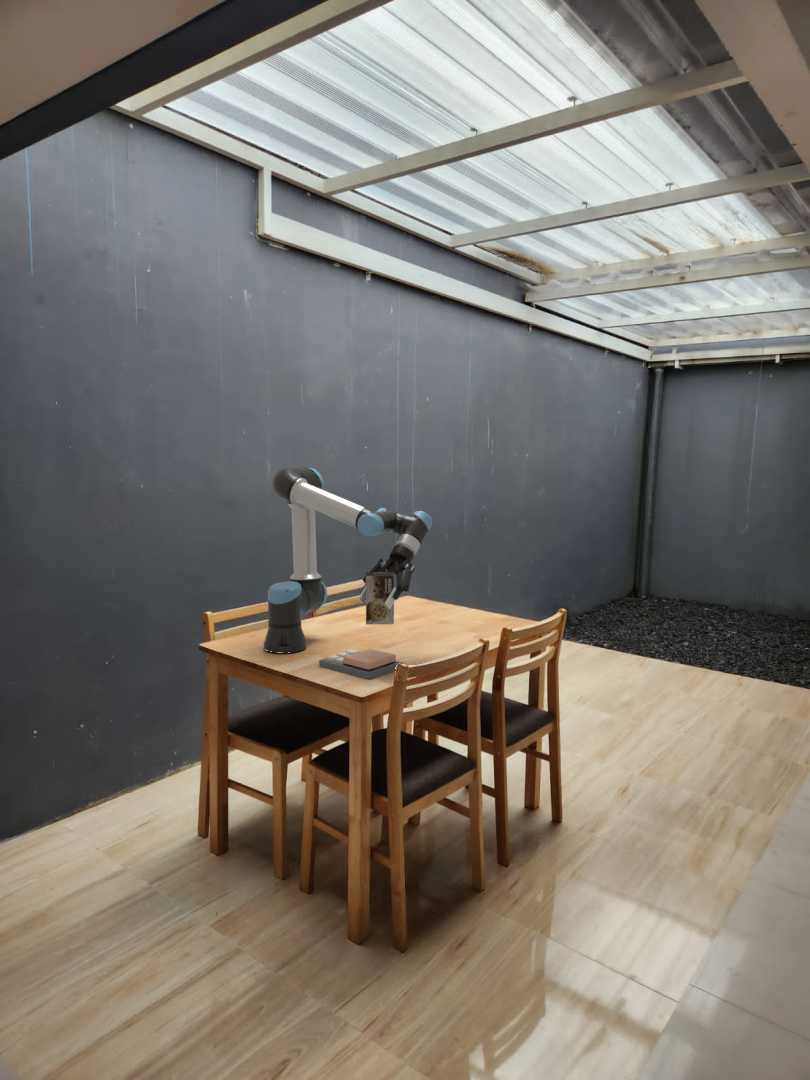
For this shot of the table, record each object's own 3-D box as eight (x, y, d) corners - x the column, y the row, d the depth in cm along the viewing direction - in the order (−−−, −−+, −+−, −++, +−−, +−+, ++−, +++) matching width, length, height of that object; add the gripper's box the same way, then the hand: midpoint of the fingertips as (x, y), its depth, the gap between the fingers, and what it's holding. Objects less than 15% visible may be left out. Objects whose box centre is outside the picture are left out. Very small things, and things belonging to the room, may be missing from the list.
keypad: (319, 666, 227) (319, 657, 227) (353, 655, 239) (353, 647, 239) (369, 679, 213) (369, 670, 213) (402, 668, 226) (402, 659, 225)
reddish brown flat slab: (343, 663, 222) (343, 657, 222) (370, 654, 232) (370, 648, 232) (368, 669, 215) (368, 663, 215) (395, 660, 225) (395, 654, 225)
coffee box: (393, 620, 228) (393, 571, 226) (393, 624, 221) (394, 575, 219) (365, 620, 227) (365, 571, 225) (365, 624, 221) (365, 575, 219)
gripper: (437, 561, 227) (407, 616, 217) (383, 554, 241) (352, 605, 231) (428, 546, 222) (397, 602, 212) (373, 540, 236) (341, 592, 226)
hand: (373, 603), depth 221 cm, fingers closed on coffee box, 10 cm apart
